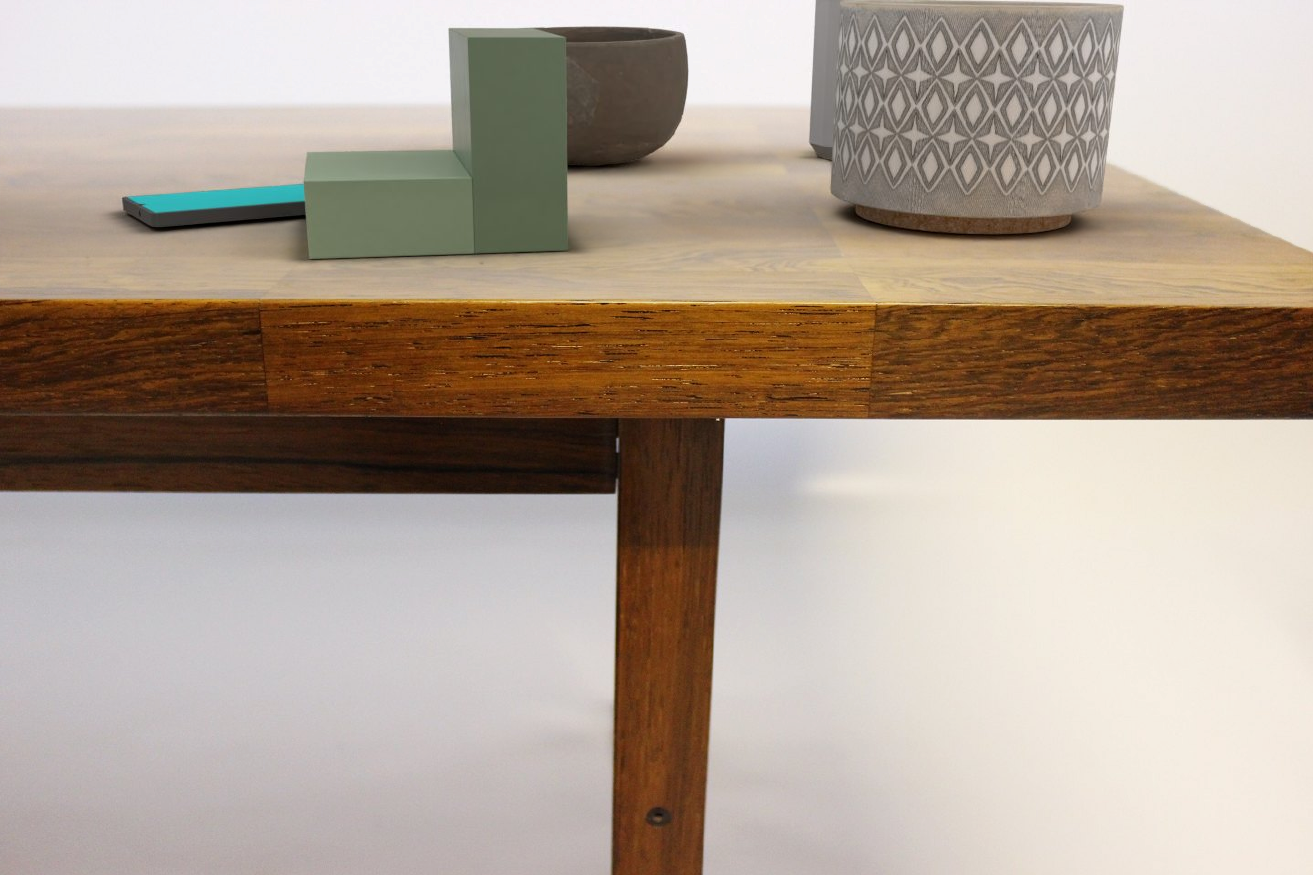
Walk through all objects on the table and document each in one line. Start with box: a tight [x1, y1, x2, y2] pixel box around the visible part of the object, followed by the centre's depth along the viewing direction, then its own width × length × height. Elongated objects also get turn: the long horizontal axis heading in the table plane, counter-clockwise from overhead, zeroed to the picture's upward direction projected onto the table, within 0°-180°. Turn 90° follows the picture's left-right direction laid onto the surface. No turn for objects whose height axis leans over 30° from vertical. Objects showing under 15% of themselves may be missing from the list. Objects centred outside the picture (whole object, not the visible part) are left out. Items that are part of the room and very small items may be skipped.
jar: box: [808, 0, 845, 161], centre depth 109 cm, size 10×10×18 cm
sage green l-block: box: [302, 27, 569, 260], centre depth 75 cm, size 14×12×11 cm
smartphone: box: [121, 183, 306, 228], centre depth 83 cm, size 7×1×15 cm
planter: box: [829, 0, 1125, 235], centre depth 82 cm, size 16×16×13 cm
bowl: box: [532, 25, 689, 167], centre depth 106 cm, size 17×18×10 cm
